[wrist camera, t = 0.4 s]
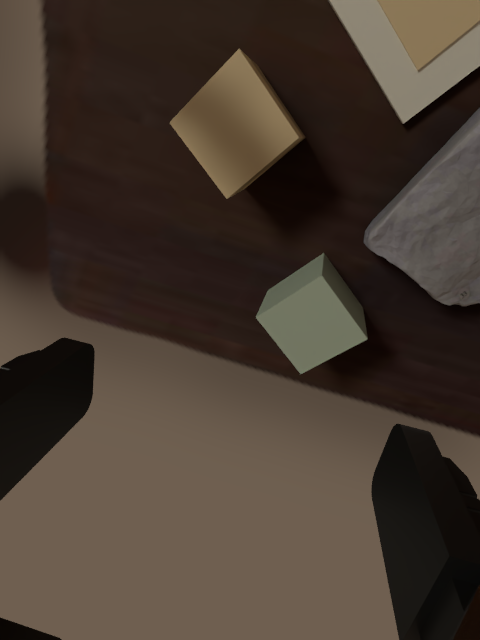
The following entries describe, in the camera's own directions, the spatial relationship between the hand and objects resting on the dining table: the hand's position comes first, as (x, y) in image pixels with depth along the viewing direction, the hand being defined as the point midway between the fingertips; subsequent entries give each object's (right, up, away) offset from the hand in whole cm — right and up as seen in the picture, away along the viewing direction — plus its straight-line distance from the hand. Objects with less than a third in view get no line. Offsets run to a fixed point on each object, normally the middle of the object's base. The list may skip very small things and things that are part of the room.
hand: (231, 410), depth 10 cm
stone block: (+16, +10, +16) cm, 25 cm away
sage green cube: (+6, +4, +21) cm, 22 cm away
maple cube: (+1, +16, +17) cm, 23 cm away
